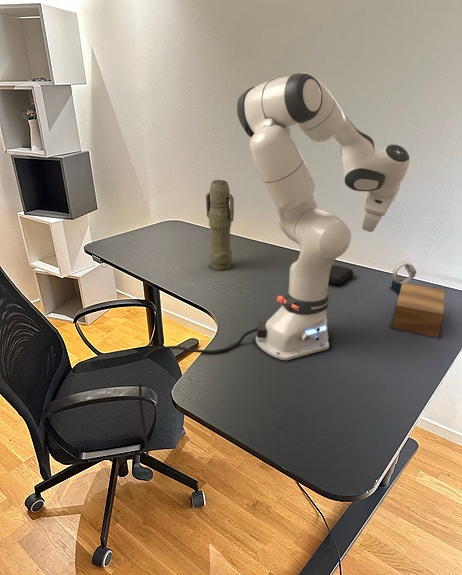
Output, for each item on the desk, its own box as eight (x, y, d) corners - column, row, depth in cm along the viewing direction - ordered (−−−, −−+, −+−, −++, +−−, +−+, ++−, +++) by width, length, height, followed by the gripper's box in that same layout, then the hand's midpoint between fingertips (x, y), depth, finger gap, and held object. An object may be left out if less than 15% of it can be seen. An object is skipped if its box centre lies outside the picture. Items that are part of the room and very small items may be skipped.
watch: (415, 292, 158) (420, 264, 153) (395, 295, 157) (400, 266, 152) (406, 286, 163) (411, 258, 158) (386, 288, 161) (391, 260, 157)
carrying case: (342, 289, 161) (356, 275, 172) (342, 281, 160) (357, 268, 171) (315, 282, 167) (331, 269, 178) (316, 274, 166) (332, 262, 177)
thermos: (212, 260, 188) (210, 177, 173) (238, 264, 183) (238, 180, 168) (203, 267, 181) (200, 182, 166) (229, 272, 176) (228, 184, 161)
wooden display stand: (438, 337, 131) (443, 313, 127) (392, 328, 136) (396, 305, 132) (439, 311, 146) (444, 289, 142) (398, 303, 151) (402, 282, 147)
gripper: (381, 166, 143) (370, 195, 155) (363, 210, 134) (353, 238, 146) (400, 172, 142) (387, 201, 154) (384, 217, 133) (372, 244, 144)
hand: (370, 219), depth 150 cm, fingers open, 8 cm apart
